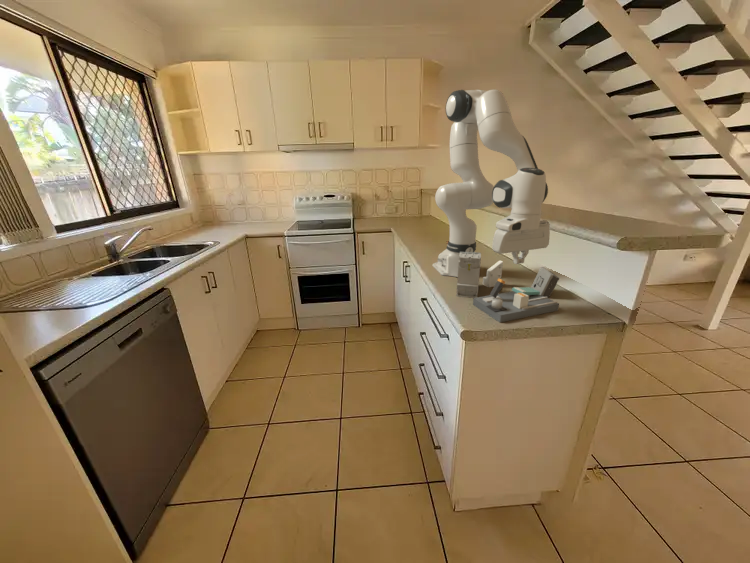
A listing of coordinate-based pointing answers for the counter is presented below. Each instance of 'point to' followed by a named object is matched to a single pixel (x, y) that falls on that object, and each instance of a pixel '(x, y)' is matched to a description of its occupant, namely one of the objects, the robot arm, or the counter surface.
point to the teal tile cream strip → (526, 290)
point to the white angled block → (493, 274)
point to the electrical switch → (545, 282)
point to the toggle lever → (497, 288)
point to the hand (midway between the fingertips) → (518, 263)
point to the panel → (510, 312)
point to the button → (497, 303)
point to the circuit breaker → (468, 274)
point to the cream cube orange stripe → (520, 300)
